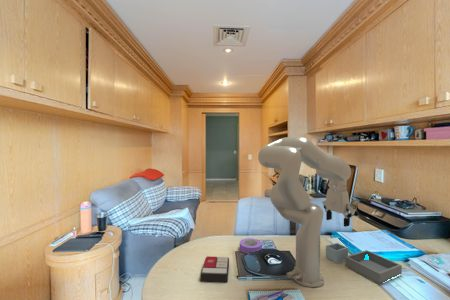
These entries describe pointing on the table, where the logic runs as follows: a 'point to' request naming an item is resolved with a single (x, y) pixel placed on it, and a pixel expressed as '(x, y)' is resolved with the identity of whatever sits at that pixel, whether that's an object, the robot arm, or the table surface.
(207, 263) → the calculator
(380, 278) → the grey crate
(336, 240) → the hard drive
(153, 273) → the table surface
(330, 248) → the grey block
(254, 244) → the masking tape
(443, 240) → the table surface
